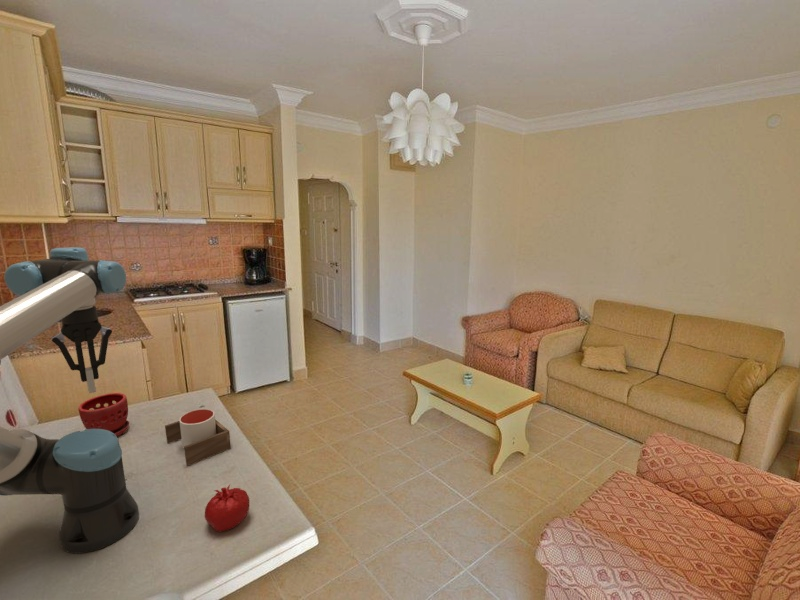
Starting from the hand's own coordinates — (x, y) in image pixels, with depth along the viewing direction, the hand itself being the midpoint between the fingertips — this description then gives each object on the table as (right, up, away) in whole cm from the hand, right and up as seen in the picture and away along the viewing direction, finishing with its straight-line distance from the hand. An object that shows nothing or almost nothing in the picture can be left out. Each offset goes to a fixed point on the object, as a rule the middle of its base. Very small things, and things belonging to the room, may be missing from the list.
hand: (92, 390), depth 112 cm
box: (+20, -22, +20) cm, 35 cm away
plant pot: (-14, -20, +26) cm, 36 cm away
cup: (+20, -22, +20) cm, 36 cm away
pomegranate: (+42, -29, -12) cm, 53 cm away
